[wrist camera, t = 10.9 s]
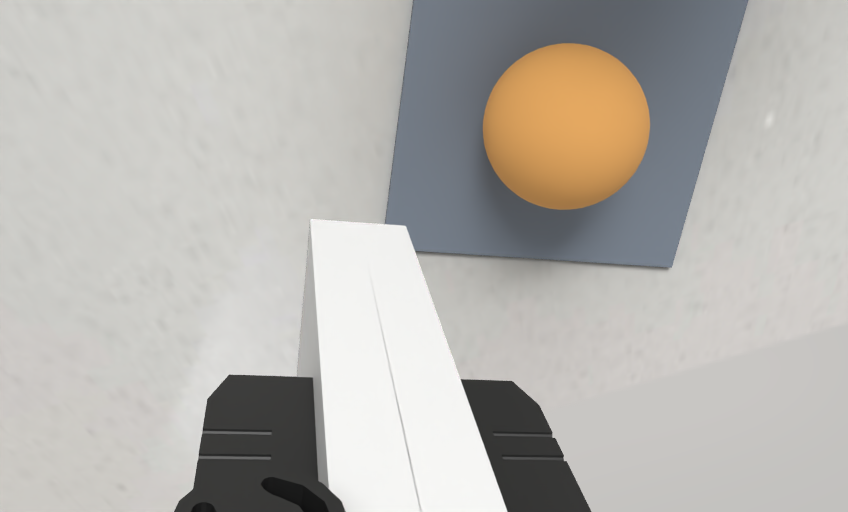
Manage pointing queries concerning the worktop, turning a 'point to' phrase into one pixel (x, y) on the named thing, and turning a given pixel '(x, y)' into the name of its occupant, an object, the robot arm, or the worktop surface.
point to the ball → (566, 126)
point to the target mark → (468, 95)
